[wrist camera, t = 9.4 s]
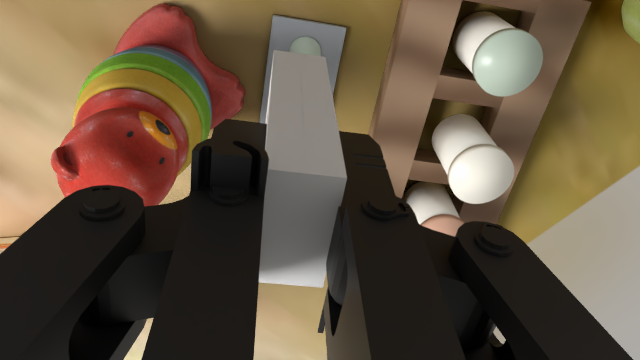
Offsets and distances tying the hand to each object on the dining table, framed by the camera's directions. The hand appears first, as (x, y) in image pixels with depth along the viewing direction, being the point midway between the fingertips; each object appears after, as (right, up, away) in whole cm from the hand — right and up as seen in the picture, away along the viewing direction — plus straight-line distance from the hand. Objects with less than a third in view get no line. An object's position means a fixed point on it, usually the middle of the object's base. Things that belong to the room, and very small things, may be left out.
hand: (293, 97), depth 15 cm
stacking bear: (-12, +6, +28) cm, 31 cm away
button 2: (+14, +9, +27) cm, 32 cm away
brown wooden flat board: (+12, +3, +31) cm, 34 cm away
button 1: (+11, -4, +35) cm, 37 cm away
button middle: (+13, +1, +29) cm, 32 cm away
